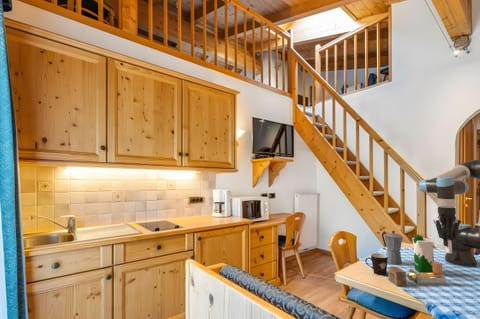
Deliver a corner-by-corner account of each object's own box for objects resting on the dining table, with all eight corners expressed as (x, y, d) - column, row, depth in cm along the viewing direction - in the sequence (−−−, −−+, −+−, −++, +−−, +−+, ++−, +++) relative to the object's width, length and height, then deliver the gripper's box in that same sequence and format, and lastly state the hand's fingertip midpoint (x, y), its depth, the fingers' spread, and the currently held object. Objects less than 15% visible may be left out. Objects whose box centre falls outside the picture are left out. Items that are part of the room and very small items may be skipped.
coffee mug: (388, 271, 156) (387, 253, 156) (389, 277, 148) (388, 258, 148) (365, 268, 161) (365, 251, 161) (365, 274, 153) (364, 256, 153)
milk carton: (412, 268, 160) (410, 234, 160) (429, 269, 158) (427, 234, 159) (419, 274, 151) (417, 237, 152) (437, 275, 149) (435, 238, 150)
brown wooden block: (398, 279, 144) (397, 266, 144) (406, 285, 137) (405, 271, 137) (388, 280, 144) (388, 266, 144) (396, 286, 137) (396, 271, 137)
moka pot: (399, 267, 161) (397, 233, 162) (376, 260, 176) (375, 228, 176) (409, 265, 165) (408, 231, 166) (387, 257, 179) (385, 227, 180)
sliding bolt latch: (436, 279, 144) (435, 267, 144) (445, 284, 137) (445, 272, 137) (409, 279, 144) (409, 268, 144) (418, 285, 137) (417, 273, 137)
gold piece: (438, 278, 142) (437, 261, 143) (443, 280, 139) (442, 263, 139) (407, 278, 142) (406, 262, 143) (412, 281, 139) (411, 264, 139)
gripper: (453, 205, 146) (455, 250, 145) (428, 205, 146) (430, 250, 145) (464, 207, 138) (467, 254, 137) (439, 207, 138) (441, 254, 137)
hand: (448, 252), depth 141 cm, fingers closed
